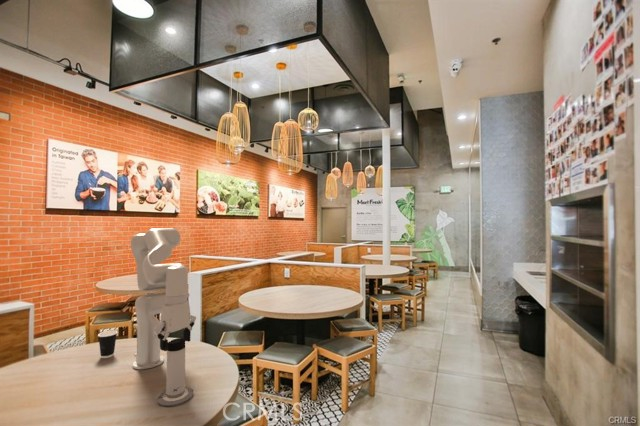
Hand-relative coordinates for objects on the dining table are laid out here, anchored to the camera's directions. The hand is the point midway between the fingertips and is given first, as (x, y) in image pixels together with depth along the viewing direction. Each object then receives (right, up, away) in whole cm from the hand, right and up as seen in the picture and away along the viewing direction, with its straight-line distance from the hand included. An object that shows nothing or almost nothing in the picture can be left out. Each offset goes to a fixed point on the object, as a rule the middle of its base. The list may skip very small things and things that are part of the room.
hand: (175, 345), depth 115 cm
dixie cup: (-50, -21, +36) cm, 65 cm away
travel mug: (0, -18, -1) cm, 18 cm away
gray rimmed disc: (+1, -19, -1) cm, 19 cm away
